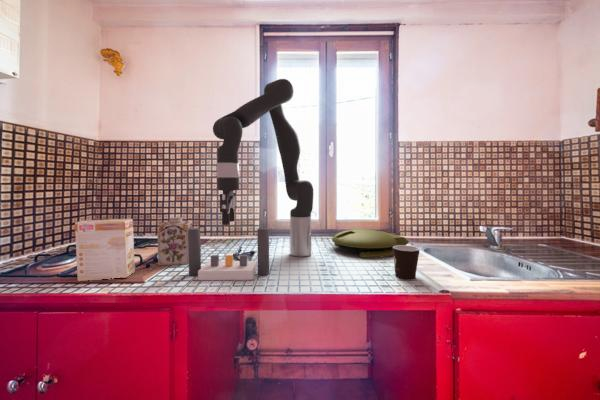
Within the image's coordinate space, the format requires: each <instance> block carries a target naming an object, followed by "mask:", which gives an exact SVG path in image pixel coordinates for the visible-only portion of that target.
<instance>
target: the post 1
mask: <svg viewBox="0 0 600 400" xmlns="http://www.w3.org/2000/svg"><path fill="white" fill-rule="evenodd" d="M201 243H202V242H201V228H198V227H197V228H195V227H193V228H192V229H188V251H189V264H188V275H189V276H190V277H198V271H199V270H200V269H201V268H202V256H201V255H202V254H201V253H202V252H201V248H202V247H201Z"/></svg>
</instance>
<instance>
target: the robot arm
mask: <svg viewBox="0 0 600 400" xmlns="http://www.w3.org/2000/svg"><path fill="white" fill-rule="evenodd" d="M293 97H294V86H293V84H292V83H291V81H290V80H288V79H286V78H280V79H277V80H274V81H271V82H269V83H267V84H266V85H265V86H264V89H263V94H261V95H259V96H258V97H255V98H254V99H251V100H249V101H247V102H246V103H244V104H243V105H241V106H239V107H238V108H236V109H235V110H234V111H232V112H230V113H227V114H226V115H224V116H222V117H220V118H218V119H217V120H216V121H215V122H214V123H213V126H212V131H213V134H214V136H215V137H216V138H217V139H220V140H223V142H222V144H221V145H220V146H219V147H218V148H217V152H216V153H217V156H216V157H217V160H216V161H217V165H216V189H217V191H222V193H219V212H220V213H221V217H222V218H221V220H222V221H221V222H222V225H223V226H229V224H230V222H235V211H236V210H237V209H236V208H237V197H236V196H237V194H236V192H234V191H239V190H240V167H239V166H240V165H239V150H240V147H241V143H242V138H243V129H245V128H248V127H249V126H251V125H252V124H254V123H255V122H256V121H258V120H259V119H260V118H262V117H263V116H265V115H266V114H267V113H269V116H270V118H271V122H272V126H273V129H274V135H275V137H276V143H277V148H278V152H279V155H280V160H281V164H282V168H283V169H282V170H283V174H284V184H285V190H286V193H287V196H288V198H289V199H290V200H292V201H296V206H295V207H294V208H292V209H291V210H290V212H289V215H290V216H289V217H290V218H289V219H290V220H289V221H290V223H289V224H290V225H289V228H290V233H289V234H290V235H289V238H290V239H289V241H290V242H289V245H290V248H289V251H290V252H289V254H290V255H291V256H292V257H293V256H294V257H308V256H309V257H310V256H312V211H313V207H314V187H313V184H312V183H311V181H308V180H300V177H299V173H298V165H299V160H300V156H301V145H300V140H299V135H298V133H297V131H296V130H295V128H294V127H293V125H292V124H291V123H290V122H289V120H288V119H287V118H286V116H285V113H284V109H283V104H286V103H288V102H290V101H291V100H292V98H293Z"/></svg>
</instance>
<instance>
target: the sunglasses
mask: <svg viewBox="0 0 600 400" xmlns="http://www.w3.org/2000/svg"><path fill="white" fill-rule="evenodd" d="M242 249H243V246H240V247H239V248H238V249H237V252H235V253H232V255H233V258H237V259H239V260H240V255H247V259H248V260H247V261H252V260H251V259H253V257H254V256H255V254H256V253H257V252H258V249H255V250H251V251H246V252H242ZM241 252H242V253H241Z"/></svg>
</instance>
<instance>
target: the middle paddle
mask: <svg viewBox="0 0 600 400" xmlns="http://www.w3.org/2000/svg"><path fill="white" fill-rule="evenodd" d="M224 257H225V258H224V259H225V260H224V261H225V266H233V261H234V257H233V254H225V256H224Z"/></svg>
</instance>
